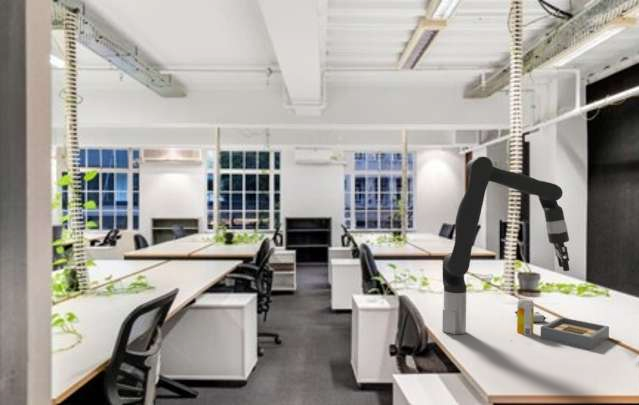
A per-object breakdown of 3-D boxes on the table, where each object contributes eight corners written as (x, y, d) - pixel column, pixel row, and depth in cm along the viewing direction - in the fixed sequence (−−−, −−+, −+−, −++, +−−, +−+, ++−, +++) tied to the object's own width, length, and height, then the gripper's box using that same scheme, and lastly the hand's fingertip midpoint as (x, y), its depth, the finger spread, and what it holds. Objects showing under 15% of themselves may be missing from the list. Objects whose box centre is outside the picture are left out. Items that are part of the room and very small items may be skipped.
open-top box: (590, 352, 164) (591, 337, 164) (540, 340, 177) (540, 326, 177) (608, 340, 179) (609, 326, 179) (561, 329, 192) (561, 317, 192)
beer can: (528, 332, 187) (529, 297, 187) (535, 337, 181) (536, 301, 181) (514, 332, 187) (514, 297, 187) (521, 337, 181) (522, 301, 181)
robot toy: (512, 317, 215) (518, 323, 200) (513, 308, 215) (518, 313, 200) (540, 319, 211) (547, 326, 197) (540, 310, 212) (547, 315, 197)
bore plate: (588, 346, 168) (588, 338, 168) (549, 337, 179) (549, 329, 179) (600, 338, 178) (600, 331, 178) (562, 330, 188) (562, 323, 188)
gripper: (544, 230, 194) (551, 266, 194) (550, 234, 181) (558, 273, 181) (563, 227, 192) (570, 264, 192) (571, 231, 178) (578, 271, 178)
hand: (564, 268), depth 186 cm, fingers open, 8 cm apart
